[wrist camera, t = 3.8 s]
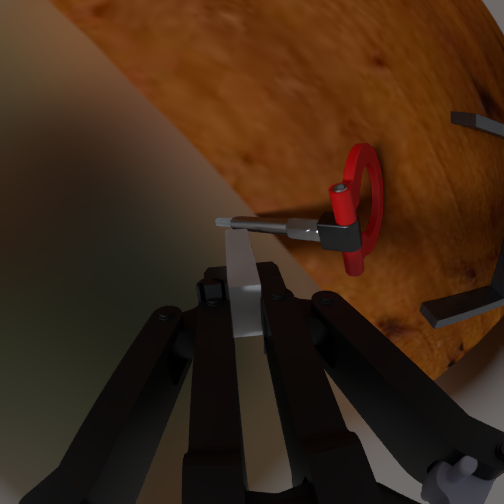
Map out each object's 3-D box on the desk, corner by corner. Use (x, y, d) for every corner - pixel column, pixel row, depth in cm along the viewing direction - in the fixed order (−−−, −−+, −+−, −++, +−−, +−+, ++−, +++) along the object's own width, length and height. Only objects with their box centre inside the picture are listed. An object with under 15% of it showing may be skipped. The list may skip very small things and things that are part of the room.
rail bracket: (450, 99, 15) (475, 101, 13) (525, 130, 16) (544, 135, 13) (416, 318, 25) (431, 336, 22) (493, 296, 25) (506, 309, 23)
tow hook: (391, 215, 19) (363, 288, 15) (278, 209, 25) (230, 262, 21) (378, 128, 15) (345, 180, 11) (253, 141, 22) (191, 186, 18)
